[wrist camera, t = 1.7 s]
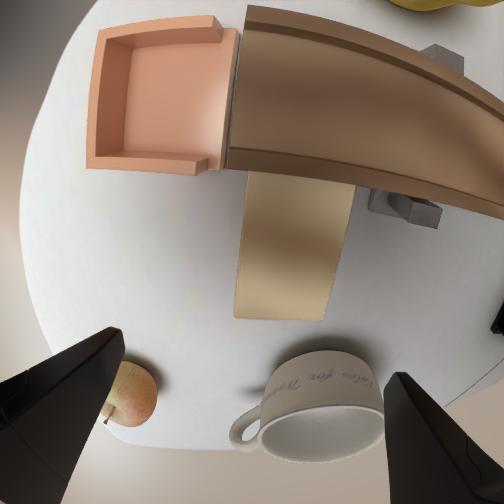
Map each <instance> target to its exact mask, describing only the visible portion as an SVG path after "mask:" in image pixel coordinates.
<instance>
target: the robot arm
mask: <svg viewBox="0 0 504 504" xmlns="http://www.w3.org/2000/svg"><path fill="white" fill-rule="evenodd" d="M491 331H492V333H493V334H502V335H503V336H504V304H503V306H502V308H501V311H500V312H499V314H498V316H497V318H496V320H495V322H494V324H493V326H492V328H491ZM124 353H125V344H124V338H123V333H122V331H121V330H120V329H118V328H115V327H108V328H106V329H104V330H102V331H100V332H98V333H96V334H94V335H92V336H90V337H89V338H87V339H85V340H83V341H81V342H79V343H77V344H75V345H73V346H71V347H69V348H68V349H66V350H64V351H62V352H60V353H58V354H56V355H54V356H52V357H50V358H49V359H47V360H45V361H43V362H41V363H39V364H37V365H35V366H33V367H31V368H30V369H29V370H26V371H24V372H22V373H20V374H18V375H16V376H14V377H12V378H10V379H8V380H5V381H3V382H1V383H0V504H60V503H61V501H62V498H63V495H64V493H65V491H66V488H67V486H68V482H69V480H70V478H71V475H72V473H73V471H74V468H75V466H76V464H77V461H78V459H79V457H80V455H81V452H82V450H83V448H84V446H85V443H86V441H87V439H88V437H89V435H90V432H91V430H92V428H93V426H94V424H95V422H96V420H97V418H98V416H99V414H100V411H101V409H102V407H103V405H104V403H105V401H106V399H107V397H108V395H109V393H110V391H111V388H112V386H113V383H114V380H115V378H116V375H117V372H118V369H119V367H120V364H121V361H122V359H123V356H124ZM383 396H384V429H385V440H386V449H387V459H388V470H389V483H390V502H391V504H504V469H503V468H502V467H501V466H500V465H499V464H497V463H496V462H495V461H494V460H493V459H492V458H490V456H488V455H487V454H486V453H485V452H484V451H483V450H482V449H481V448H480V447H479V446H478V445H477V444H476V443H475V442H474V441H473V440H472V439H471V438H470V437H469V436H467V434H466V433H465V432H464V431H463V430H462V429H461V428H460V426H458V424H457V423H456V422H455V421H454V420H453V419H452V418H451V417H450V416H449V415H448V414H447V413H446V412H445V411H444V410H443V409H442V408H441V407H440V406H439V405H438V404H437V403H436V402H435V401H434V400H433V399H432V398H431V397H430V396H429V395H428V394H427V393H426V392H425V391H424V390H423V389H422V388H421V387H420V386H419V385H418V384H417V383H416V382H415V381H414V380H413V379H412V377H411V376H410V375H409V374H407V373H406V372H395V373H394V374H393V375H392V377H391V378H390V380H389V381H388V383H387V385H386V386H385V388H384V393H383Z"/></svg>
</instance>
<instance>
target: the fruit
mask: <svg viewBox="0 0 504 504" xmlns="http://www.w3.org/2000/svg"><path fill="white" fill-rule="evenodd" d="M156 403H157V387H156V383H155V381H154V379H153V377H152V375H151V374H150V373H149V372H148V371H147V370H145V369H144V368H142V367H141V366H139V365H136V364H134V363H131V362H128V361H121V364H120V367H119V369H118V372H117V375H116V378H115V380H114V383H113V386H112V388H111V391H110V393H109V395H108V397H107V399H106V401H105V403H104V405H103V407H102V409H101V411H100V413H101V414H102V415H104V416H105V417H106V418H107V419H106V420H105V421H104V422H103V423H104V424H107V422H108V419H110V420H112V421H114V422H116V423H118V424H120V425H122V426H127V427H135V426H139V425H141V424H143V423H144V422H146V421H147V420H148V419H149V418H150V416H151V415H152V413H153V411H154V409H155V406H156Z"/></svg>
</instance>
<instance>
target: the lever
mask: <svg viewBox="0 0 504 504" xmlns="http://www.w3.org/2000/svg"><path fill="white" fill-rule="evenodd" d="M227 169H233V170H244V171H248V178H247V187H246V196H245V205H244V214H243V223H242V232H241V241H240V251H239V260H238V270H237V280H236V289H235V299H234V318H240V319H264V320H311V321H322V319H323V315H324V312H325V309H326V305H327V302H328V298H329V295H330V291H331V288H332V284H333V281H334V277H335V273H336V269H337V266H338V262H339V258H340V254H341V250H342V246H343V242H344V238H345V234H346V229H347V225H348V221H349V216H350V212H351V207H352V202H353V198H354V193H355V188H356V185H357V186H363V187H369V188H374V189H379V190H384V191H390V192H395V193H399V194H404V195H409V196H414V197H418V198H422V199H427V200H431V201H435V202H440V203H444V204H448V205H452V206H456V207H459V208H463V209H467V210H471V211H474V212H478V213H481V214H485V215H488V216H492V217H495V218H499V219H502V220H504V103H503V102H502V101H501V100H499V99H498V98H497V97H495V96H494V95H492V94H491V93H489V92H488V91H486V90H485V89H483V88H482V87H480V86H479V85H477V84H476V83H474V82H473V81H471V80H469V79H468V78H466V77H464V76H463V75H461V74H459V73H458V72H456V71H454V70H452V69H451V68H449V67H447V66H445V65H443V64H441V63H440V62H438V61H436V60H434V59H432V58H430V57H428V56H426V55H424V54H422V53H419V52H417V51H415V50H413V49H411V48H409V47H406V46H404V45H402V44H399V43H397V42H394V41H392V40H389V39H387V38H384V37H382V36H379V35H376V34H374V33H371V32H368V31H365V30H362V29H359V28H356V27H353V26H350V25H346V24H343V23H339V22H336V21H332V20H329V19H325V18H321V17H317V16H312V15H308V14H303V13H298V12H293V11H288V10H282V9H276V8H270V7H263V6H255V5H248V7H247V12H246V18H245V23H244V30H243V37H242V44H241V52H240V59H239V67H238V74H237V82H236V90H235V98H234V107H233V116H232V124H231V133H230V143H229V152H228V165H227Z"/></svg>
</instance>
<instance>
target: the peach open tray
mask: <svg viewBox="0 0 504 504" xmlns="http://www.w3.org/2000/svg"><path fill="white" fill-rule="evenodd" d="M239 40H240V34H239V32H238V31H237V29H236V28H223V27H222V25H221V24H220V23H219V21H218V20H217V19H216V18H215V16H214V15H205V16H187V17H175V18H166V19H157V20H150V21H143V22H137V23H131V24H126V25H121V26H116V27H111V28H107V29H103V30H99V32H98V37H97V42H96V48H95V54H94V60H93V67H92V75H91V83H90V92H89V104H88V118H87V140H86V169H111V170H130V171H145V172H158V173H170V174H181V175H192V176H196V175H197V174H199V173H201V172H203V171H205V170H217V171H220V170H221V169H223V168H224V167H225V157H226V147H227V138H228V128H229V119H230V111H231V102H232V94H233V86H234V78H235V70H236V62H237V55H238V47H239Z"/></svg>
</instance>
